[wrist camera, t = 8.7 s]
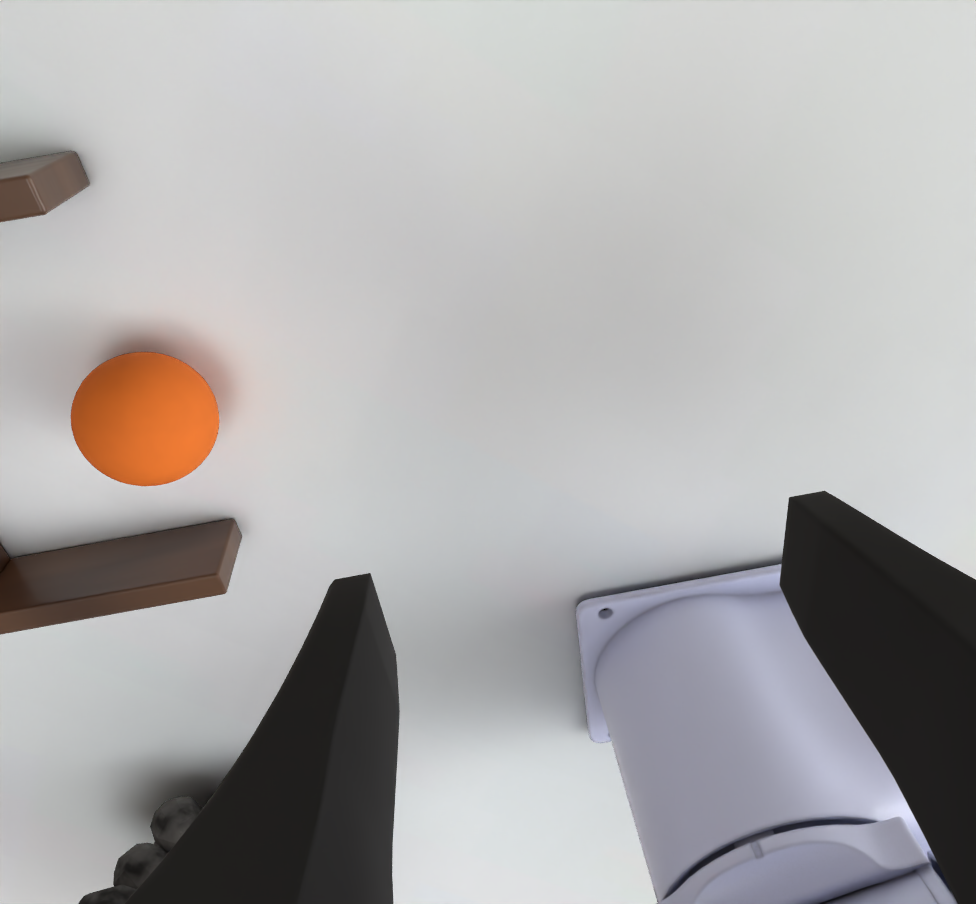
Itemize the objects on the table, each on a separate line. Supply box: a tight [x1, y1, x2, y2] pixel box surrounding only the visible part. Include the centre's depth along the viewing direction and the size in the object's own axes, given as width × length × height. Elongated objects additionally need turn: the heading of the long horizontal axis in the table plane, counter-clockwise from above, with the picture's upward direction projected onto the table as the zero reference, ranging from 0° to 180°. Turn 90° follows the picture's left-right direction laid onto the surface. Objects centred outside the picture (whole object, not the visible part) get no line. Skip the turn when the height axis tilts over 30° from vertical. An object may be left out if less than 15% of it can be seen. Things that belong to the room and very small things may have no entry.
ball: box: [71, 352, 219, 486], centre depth 18 cm, size 3×3×3 cm
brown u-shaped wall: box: [0, 151, 242, 634], centre depth 18 cm, size 8×12×3 cm
